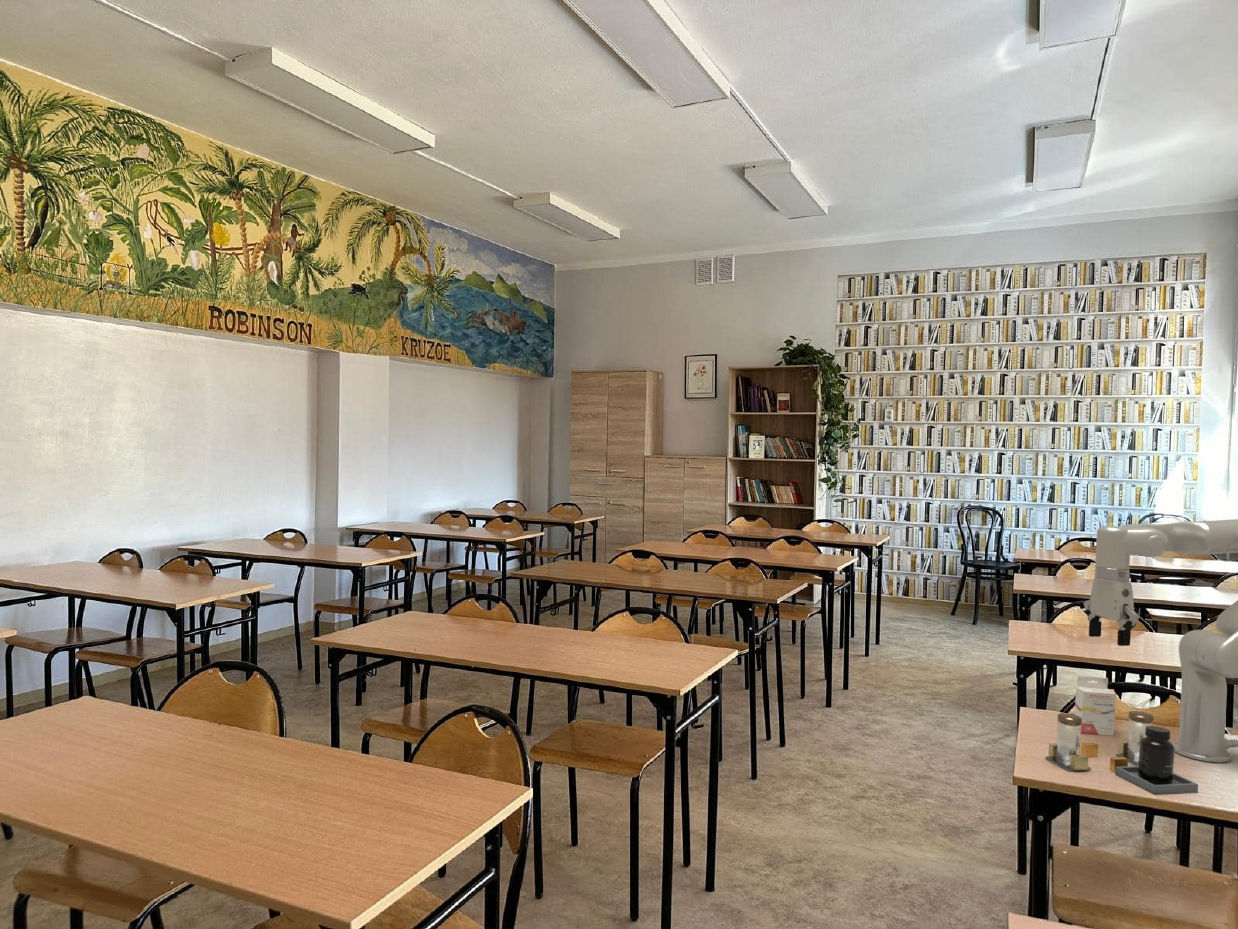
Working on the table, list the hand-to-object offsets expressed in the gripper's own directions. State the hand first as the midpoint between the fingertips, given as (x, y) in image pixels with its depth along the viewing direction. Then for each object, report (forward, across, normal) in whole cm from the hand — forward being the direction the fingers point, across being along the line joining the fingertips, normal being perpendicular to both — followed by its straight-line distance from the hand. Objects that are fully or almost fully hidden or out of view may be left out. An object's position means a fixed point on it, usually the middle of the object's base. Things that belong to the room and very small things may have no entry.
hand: (1108, 640), depth 213 cm
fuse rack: (+28, -8, +7) cm, 30 cm away
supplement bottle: (+28, -20, +4) cm, 35 cm away
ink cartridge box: (+28, +13, -8) cm, 32 cm away
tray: (+28, -20, +4) cm, 35 cm away
